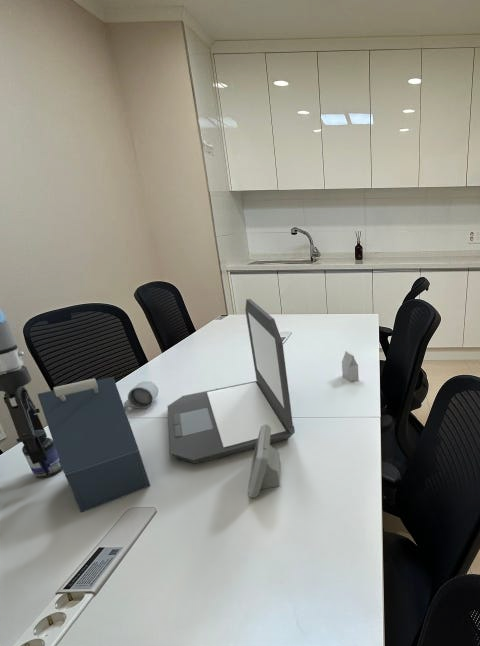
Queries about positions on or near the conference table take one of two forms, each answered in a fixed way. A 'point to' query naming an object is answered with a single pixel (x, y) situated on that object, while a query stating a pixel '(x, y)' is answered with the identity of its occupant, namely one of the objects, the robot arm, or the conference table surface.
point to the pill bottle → (53, 461)
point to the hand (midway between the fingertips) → (40, 449)
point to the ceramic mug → (142, 395)
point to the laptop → (237, 403)
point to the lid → (87, 423)
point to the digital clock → (264, 464)
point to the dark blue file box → (108, 480)
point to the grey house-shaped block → (349, 367)
